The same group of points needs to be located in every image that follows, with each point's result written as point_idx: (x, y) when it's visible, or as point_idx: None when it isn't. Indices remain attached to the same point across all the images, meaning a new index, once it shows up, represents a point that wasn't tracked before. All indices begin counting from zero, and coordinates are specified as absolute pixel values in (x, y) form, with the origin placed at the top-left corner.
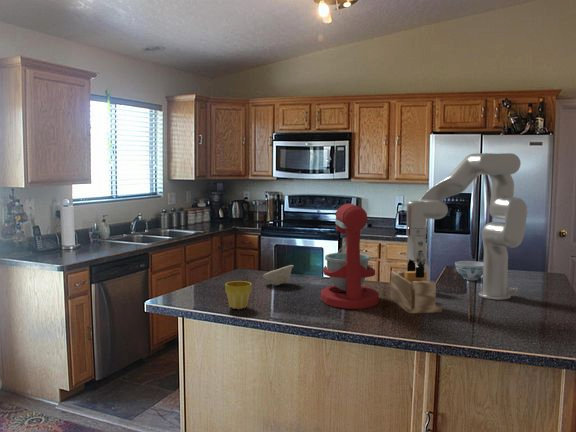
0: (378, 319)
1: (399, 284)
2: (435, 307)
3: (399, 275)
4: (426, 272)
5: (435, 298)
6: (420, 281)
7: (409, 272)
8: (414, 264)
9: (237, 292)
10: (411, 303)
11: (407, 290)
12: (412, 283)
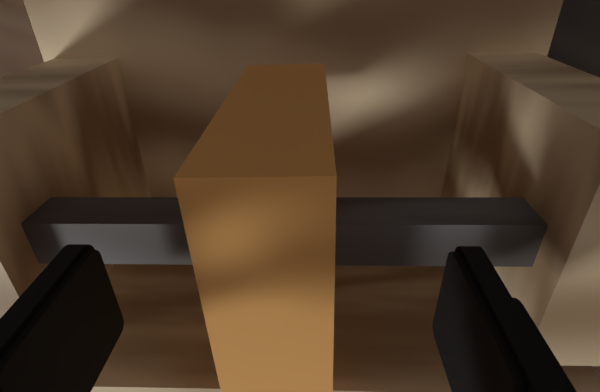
0: None
1: None
2: (521, 43)
3: (210, 389)
4: (336, 180)
5: (588, 73)
6: (588, 307)
7: (297, 387)
8: (21, 367)
9: None
10: (355, 183)
11: None
12: (70, 151)
